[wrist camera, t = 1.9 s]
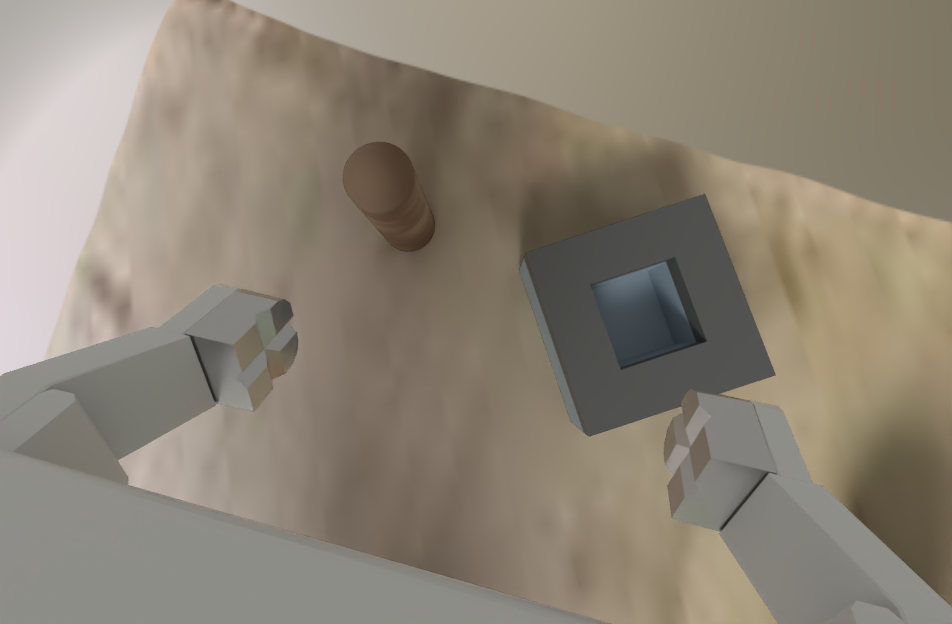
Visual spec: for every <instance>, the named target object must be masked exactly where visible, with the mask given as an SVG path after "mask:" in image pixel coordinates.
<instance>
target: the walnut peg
mask: <svg viewBox="0 0 952 624" xmlns="http://www.w3.org/2000/svg"><path fill="white" fill-rule="evenodd" d="M343 184H344V188H345V190H346V193H347V194H348V196H349V197H350V199H351V200H352V201H353V202H354V203H355V204H356V206H357V207H358V208H359V209H360V210H361V211H362V212H363V213H364V215H365V216H366V217H367V218H368V219H369V220H370V221H371V222H372V224H373V225H374V226H375V227H376V228H377V229H378V230H379V232H380V233H381V234H382V235H383V236H384V237H385V238H386V239H387V241H388V242H389V243H390V244H391V245H392V246H394V247H395V248H397V249H399V250H402V251H415V250H418V249H420V248H422V247H424V246H425V245H426V244H427V243H428V242H429V241H430V240H431V238H432V236H433V233H434V229H435V223H434V218H433V216H432V213H431V211H430V208H429V206H428V203H427V201H426V198H425V196H424V193H423V191H422V188H421V186H420V183H419V181H418V178H417V176H416V173H415V171H414V169H413V166H412V164H411V161H410V159H409V158H408V156H407V155H406V154H405V153H404V152H403V151H402V150H401V149H400V148H398V147H397V146H395V145H392V144H390V143H385V142H374V143H369V144H366V145H364V146H362V147H360V148H359V149H357V150H356V151H355V152H354V153H353V154H352V155H351V156H350V157H349V159H348V160H347V162H346V165H345V167H344V172H343Z"/></svg>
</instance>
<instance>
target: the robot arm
mask: <svg viewBox="0 0 952 624" xmlns="http://www.w3.org/2000/svg"><path fill="white" fill-rule="evenodd" d="M292 317H293V312H292V308H291V304H290V303H289V302H288V301H286V300H285V299H281V298H277V297H273V296H269V295H264V294H260V293H256V292H252V291H248V290H244V289H238V288H234V287H230V286H226V285H222V284H221V285H216V286H212V287H211V288H210V289H209V290H207V291H206V292H205V293H204V294H202V295H201V296H200V297H198V298H197V299H196V300H195V301H193V302H192V303H191V304H189V305H188V306H187V307H186V308H184V309H183V310H182V311H180V312H179V313H178V314H177V315H175V316H174V317H173V318H171V319H170V320H169V321H168V322H166V323H165V324H164V325H163V326H161V327H160V328H159V329H158V328H154V327H150V328H147V329H144V330H141V331H138V332H134V333H131V334H128V335H125V336H122V337H118V338H115V339H112V340H109V341H106V342H103V343H99V344H96V345H93V346H90V347H87V348H84V349H80V350H77V351H74V352H71V353H68V354H64V355H61V356H58V357H55V358H52V359H49V360H45V361H42V362H39V363H36V364H33V365H30V366H26V367H23V368H20V369H17V370H14V371H10V372H7V373H4V374H3V375H2V376H0V624H610V623H606V622H603V621H600V620H596V619H593V618H589V617H586V616H582V615H579V614H575V613H572V612H568V611H565V610H561V609H558V608H554V607H551V606H547V605H544V604H540V603H537V602H534V601H530V600H527V599H523V598H520V597H516V596H513V595H509V594H506V593H502V592H499V591H495V590H492V589H488V588H485V587H481V586H478V585H475V584H471V583H468V582H464V581H461V580H457V579H454V578H450V577H447V576H443V575H440V574H436V573H433V572H429V571H426V570H422V569H419V568H416V567H412V566H409V565H405V564H402V563H398V562H395V561H391V560H388V559H384V558H381V557H377V556H374V555H370V554H367V553H363V552H360V551H357V550H353V549H350V548H346V547H343V546H339V545H336V544H332V543H329V542H325V541H322V540H318V539H315V538H311V537H308V536H304V535H301V534H297V533H294V532H290V531H287V530H283V529H280V528H276V527H273V526H269V525H266V524H262V523H259V522H255V521H252V520H248V519H245V518H241V517H238V516H234V515H231V514H227V513H224V512H220V511H217V510H213V509H210V508H206V507H203V506H200V505H196V504H193V503H189V502H186V501H182V500H179V499H175V498H172V497H168V496H165V495H161V494H158V493H154V492H151V491H147V490H144V489H140V488H137V487H133V486H130V485H127V484H128V476H127V474H126V473H125V471H124V470H123V468H122V466H121V465H120V463H119V462H118V460H119V459H121V458H123V457H125V456H126V455H128V454H130V453H132V452H134V451H135V450H137V449H139V448H141V447H142V446H144V445H146V444H148V443H150V442H151V441H153V440H155V439H157V438H158V437H160V436H162V435H164V434H166V433H167V432H169V431H171V430H173V429H174V428H176V427H178V426H180V425H182V424H183V423H185V422H187V421H189V420H190V419H192V418H194V417H196V416H198V415H199V414H201V413H203V412H205V411H207V410H208V409H210V408H212V407H214V406H215V405H216V404H215V403H217V404H222V405H226V406H231V407H235V408H240V409H244V410H249V411H253V412H254V411H255V410H256V409H257V407H258V406H259V405H260V404H261V403H262V401H263V400H264V399H265V398H266V396H267V395H268V394H269V393H270V391H271V390H272V389H273V383H272V379H274V378H276V377H278V376H281V375H283V374H285V373H286V372H287V370H288V369H289V368H290V366H291V365H292V364H293V361H294V358H295V356H296V353H297V349H298V338H297V332H296V331H295V330H294V329H293V327H292V326H291V325H290V324H289V323H288V322H289V321H290V319H291V318H292ZM681 405H682V411H683V413H682V414H680V415H678V416H676V417H674V418H672V421H671V423H670V425H669V427H668V429H667V433H666V437H665V441H664V461H665V466H666V467H667V468H668V470H669V471H670V472H671V473H672V475H673V477H672V479H671V480H670V482H669V484H668V485H667V487H668V495H669V502H670V510H671V518H673V519H676V520H680V521H683V522H687V523H691V524H694V525H698V526H701V527H705V528H708V529H712V530H715V531H719V532H720V533H719V534H720V536H721V537H722V539H723V540H724V542H725V543H726V545H727V547H728V548H729V550H730V551H731V553H732V554H733V556H734V557H735V559H736V560H737V562H738V563H739V565H740V566H741V568H742V569H743V571H744V572H745V574H746V575H747V577H748V578H749V580H750V582H751V583H752V585H753V586H754V588H755V589H756V591H757V592H758V594H759V595H760V597H761V598H762V600H763V601H764V603H765V604H766V606H767V607H768V609H769V610H770V612H771V613H772V615H773V616H774V618H775V620H776V621H777V623H778V624H952V607H951V606H950V605H949V604H948V603H947V602H946V601H945V600H943V599H942V598H941V597H940V596H939V595H938V594H937V593H936V592H935V591H934V590H933V589H932V588H931V587H930V586H929V585H928V584H926V583H925V582H924V581H923V580H922V579H921V578H920V577H919V576H918V575H917V574H916V573H915V572H914V571H913V570H912V569H911V568H909V567H908V566H907V565H906V564H905V563H904V562H903V561H902V560H901V559H900V558H899V557H898V556H897V555H896V554H895V553H894V552H892V551H891V550H890V549H889V548H888V547H887V546H886V545H885V544H884V543H883V542H882V541H881V540H880V539H879V538H878V537H877V536H875V535H874V534H873V533H872V532H871V531H870V530H869V529H868V528H867V527H866V526H865V525H864V524H863V523H862V522H861V521H860V520H858V519H857V518H856V517H855V516H854V515H853V514H852V513H851V512H850V511H849V510H848V509H847V508H846V507H845V506H844V505H842V504H841V503H840V502H839V501H838V500H837V499H836V498H835V497H834V496H833V495H832V494H831V493H830V492H829V491H828V490H827V489H825V488H824V487H823V486H821V485H817V484H814V483H813V482H812V480H811V477H810V475H809V472H808V470H807V468H806V465H805V463H804V460H803V458H802V455H801V453H800V451H799V448H798V446H797V443H796V441H795V439H794V436H793V434H792V431H791V429H790V426H789V424H788V422H787V419H786V417H785V414H784V412H783V410H781V409H780V408H779V407H778V406H776V405H771V404H766V403H761V402H756V401H751V400H747V401H746V400H744V399H739V398H734V397H729V396H725V395H720V394H715V393H710V392H706V391H701V390H696V389H692V388H691V389H690V390H689V391H688V392H687V393H686V394H685V396H684V398H683V400H682V402H681Z"/></svg>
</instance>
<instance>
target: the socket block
mask: <svg viewBox="0 0 952 624" xmlns="http://www.w3.org/2000/svg"><path fill="white" fill-rule="evenodd" d="M519 271H520V274H521V277H522V280H523V282H524V285H525V288H526V291H527V294H528V297H529V300H530V303H531V306H532V309H533V312H534V315H535V318H536V321H537V323H538V326H539V329H540V332H541V335H542V338H543V341H544V344H545V347H546V350H547V353H548V356H549V359H550V362H551V364H552V367H553V370H554V373H555V376H556V379H557V382H558V385H559V388H560V391H561V394H562V397H563V400H564V403H565V405H566V408H567V411H568V414H569V417H570V420H571V423H573V424H574V425H575V426H576V427H578V428H579V429H580V430H581V431H582V432H584V433H585V434H586V435H587V436H592V435H595V434H599V433H602V432H605V431H608V430H611V429H614V428H617V427H620V426H623V425H626V424H629V423H632V422H635V421H638V420H641V419H644V418H647V417H650V416H653V415H656V414H659V413H662V412H665V411H668V410H671V409H674V408H678V407H681V406H682V405H681V402H682V400H683V398H684V396H685V394H686V393H687V392H688V391H689V390H690V389H691V388H692V389H696V390H701V391H706V392H710V393H715V394H720V393H723V392H726V391H729V390H732V389H735V388H738V387H741V386H744V385H747V384H750V383H753V382H756V381H760V380H763V379H766V378H769V377H772V376H775V372H774V369H773V367H772V364H771V362H770V359H769V357H768V354H767V352H766V349H765V346H764V344H763V341H762V339H761V336H760V334H759V331H758V328H757V326H756V323H755V321H754V318H753V316H752V313H751V311H750V308H749V305H748V303H747V300H746V298H745V295H744V293H743V290H742V287H741V285H740V282H739V280H738V277H737V275H736V272H735V270H734V267H733V264H732V262H731V259H730V257H729V254H728V252H727V249H726V247H725V244H724V241H723V239H722V236H721V234H720V231H719V229H718V226H717V223H716V221H715V218H714V216H713V213H712V211H711V208H710V206H709V203H708V200H707V198H706V195H705V194H703V195H700V196H697V197H694V198H691V199H688V200H685V201H682V202H679V203H676V204H673V205H670V206H667V207H664V208H661V209H658V210H655V211H652V212H649V213H646V214H642V215H639V216H636V217H633V218H630V219H627V220H624V221H621V222H618V223H615V224H612V225H609V226H606V227H603V228H600V229H597V230H594V231H591V232H588V233H585V234H581V235H578V236H575V237H572V238H569V239H566V240H563V241H560V242H557V243H554V244H551V245H548V246H545V247H542V248H539V249H536V250H533V251H530V252H527V253H525V256H524V259H523V261H522V264H521V267H520V270H519Z"/></svg>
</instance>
